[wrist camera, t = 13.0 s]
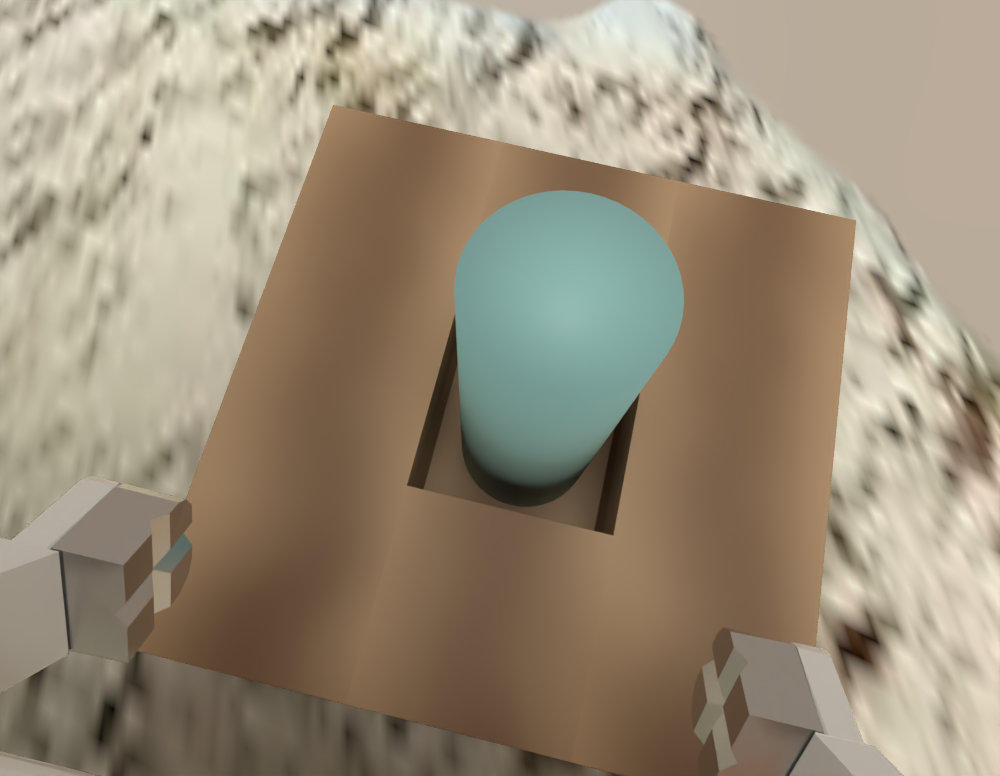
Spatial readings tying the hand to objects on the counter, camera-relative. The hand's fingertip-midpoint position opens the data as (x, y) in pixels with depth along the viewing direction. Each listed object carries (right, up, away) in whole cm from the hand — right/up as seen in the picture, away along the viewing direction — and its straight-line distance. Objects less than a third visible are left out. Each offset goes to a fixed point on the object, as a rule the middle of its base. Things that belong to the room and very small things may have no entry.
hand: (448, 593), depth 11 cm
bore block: (+1, +1, +13) cm, 13 cm away
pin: (+2, +1, +12) cm, 12 cm away
